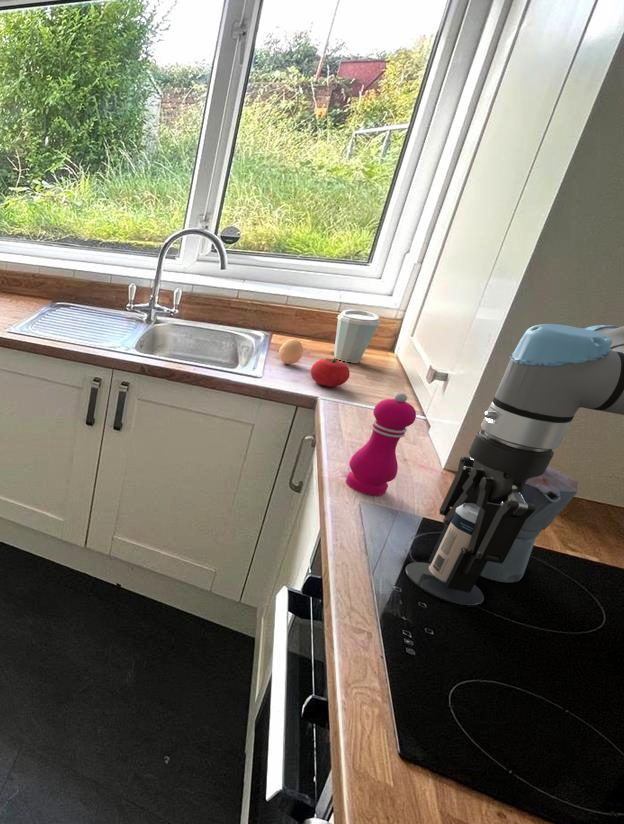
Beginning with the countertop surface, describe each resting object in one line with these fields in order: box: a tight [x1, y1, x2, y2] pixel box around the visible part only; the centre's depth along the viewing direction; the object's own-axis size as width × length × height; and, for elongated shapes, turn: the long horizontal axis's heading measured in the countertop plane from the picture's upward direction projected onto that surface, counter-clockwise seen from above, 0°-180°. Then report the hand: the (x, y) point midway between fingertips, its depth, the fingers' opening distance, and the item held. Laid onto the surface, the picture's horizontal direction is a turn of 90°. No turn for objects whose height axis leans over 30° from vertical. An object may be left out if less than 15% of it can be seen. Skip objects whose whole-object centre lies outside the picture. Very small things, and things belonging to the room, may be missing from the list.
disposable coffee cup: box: [333, 309, 382, 364], centre depth 179 cm, size 11×11×15 cm
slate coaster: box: [404, 561, 485, 607], centre depth 87 cm, size 9×9×1 cm
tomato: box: [310, 357, 351, 388], centre depth 160 cm, size 9×9×8 cm
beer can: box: [429, 503, 479, 583], centre depth 85 cm, size 5×5×12 cm
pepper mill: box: [345, 392, 417, 497], centre depth 108 cm, size 7×7×20 cm
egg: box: [278, 338, 304, 365], centre depth 175 cm, size 6×6×8 cm
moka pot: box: [479, 465, 578, 584], centre depth 89 cm, size 10×15×20 cm, turn 159°
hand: (448, 576), depth 87 cm, fingers closed on beer can, 5 cm apart
